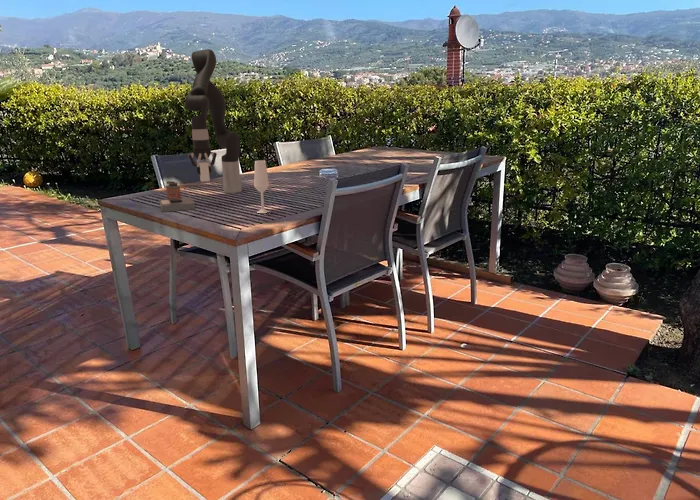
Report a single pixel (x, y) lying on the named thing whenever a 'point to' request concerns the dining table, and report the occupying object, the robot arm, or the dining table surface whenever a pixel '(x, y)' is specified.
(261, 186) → the champagne flute
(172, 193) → the lighter
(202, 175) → the peg
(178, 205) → the slot holder
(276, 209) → the dining table surface
